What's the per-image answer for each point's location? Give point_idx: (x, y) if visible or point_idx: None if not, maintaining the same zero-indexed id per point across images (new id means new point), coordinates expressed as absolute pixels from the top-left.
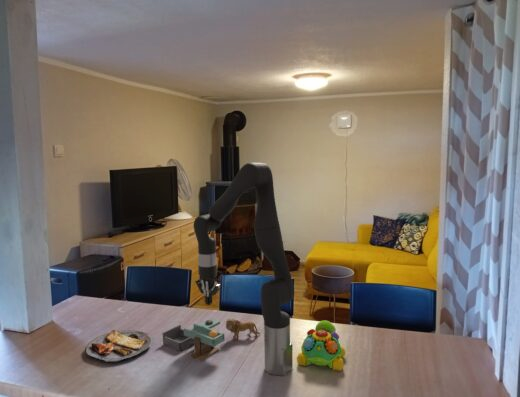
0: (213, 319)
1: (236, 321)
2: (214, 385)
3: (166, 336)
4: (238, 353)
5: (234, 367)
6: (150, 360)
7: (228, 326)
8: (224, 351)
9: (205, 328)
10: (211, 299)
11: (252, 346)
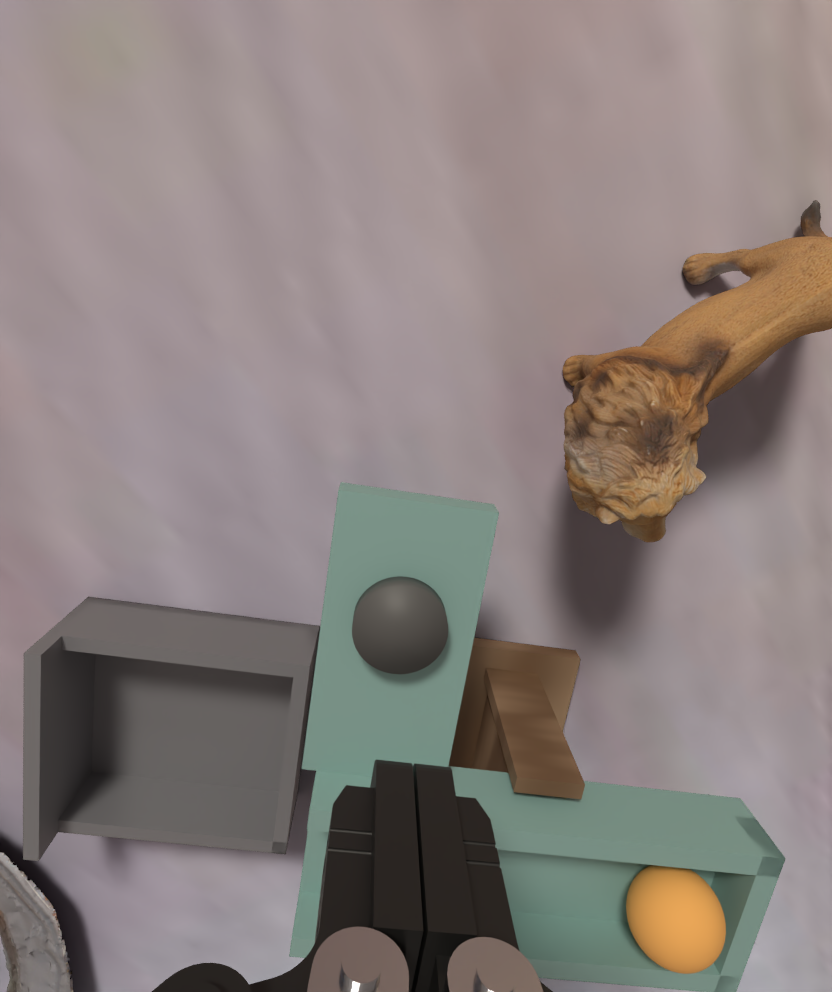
0: (382, 506)
1: (699, 412)
2: (761, 974)
3: (64, 796)
4: (746, 613)
5: (798, 780)
6: (195, 962)
7: (628, 525)
8: (622, 638)
9: (511, 847)
10: (497, 897)
11: (816, 459)
